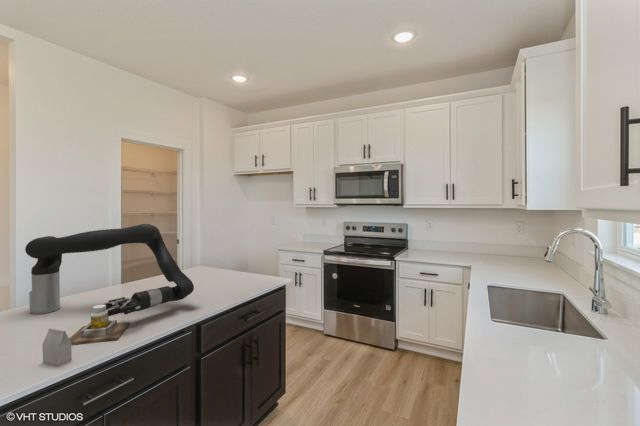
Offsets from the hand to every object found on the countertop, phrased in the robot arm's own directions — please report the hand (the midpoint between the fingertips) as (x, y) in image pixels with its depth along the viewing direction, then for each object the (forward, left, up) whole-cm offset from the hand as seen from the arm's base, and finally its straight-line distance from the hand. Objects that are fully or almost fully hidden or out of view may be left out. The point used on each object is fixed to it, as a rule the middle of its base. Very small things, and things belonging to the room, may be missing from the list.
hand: (102, 310), depth 112 cm
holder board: (-1, -1, -9) cm, 9 cm away
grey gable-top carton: (-6, -19, -9) cm, 21 cm away
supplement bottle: (-1, 0, -8) cm, 8 cm away
